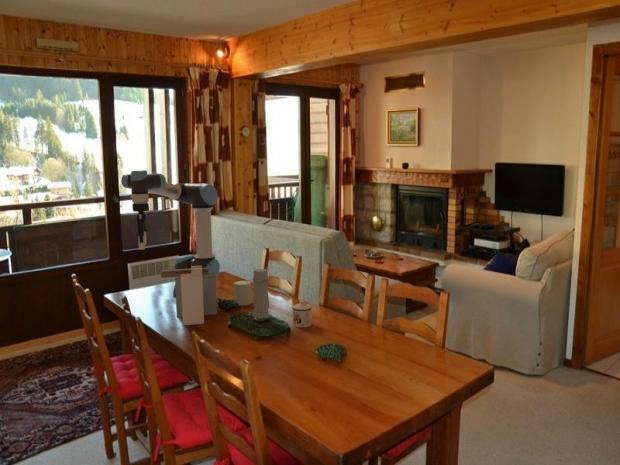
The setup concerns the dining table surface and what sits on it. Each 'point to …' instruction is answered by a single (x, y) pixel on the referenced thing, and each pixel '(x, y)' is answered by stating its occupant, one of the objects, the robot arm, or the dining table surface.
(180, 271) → the walnut pin
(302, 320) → the teacup with lid
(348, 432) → the dining table surface
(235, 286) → the can
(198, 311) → the cream stand
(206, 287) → the grey box
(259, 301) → the water bottle
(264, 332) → the dining table surface
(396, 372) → the dining table surface
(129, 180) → the robot arm
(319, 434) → the dining table surface
